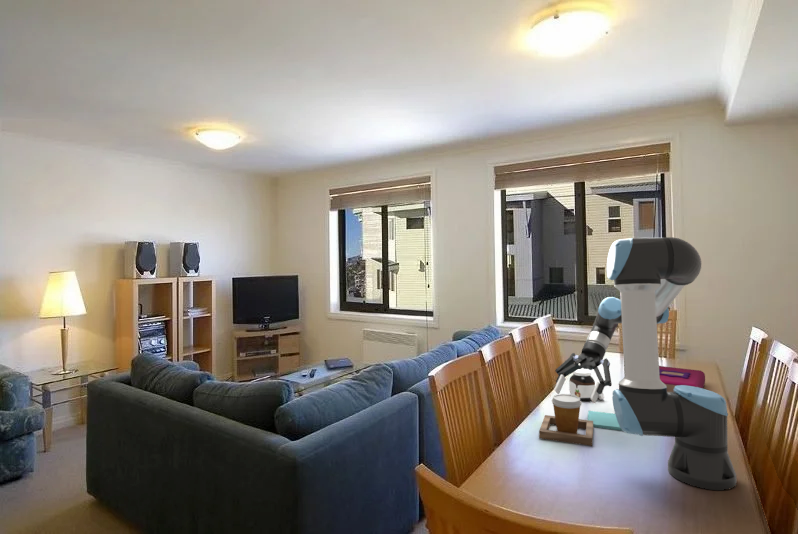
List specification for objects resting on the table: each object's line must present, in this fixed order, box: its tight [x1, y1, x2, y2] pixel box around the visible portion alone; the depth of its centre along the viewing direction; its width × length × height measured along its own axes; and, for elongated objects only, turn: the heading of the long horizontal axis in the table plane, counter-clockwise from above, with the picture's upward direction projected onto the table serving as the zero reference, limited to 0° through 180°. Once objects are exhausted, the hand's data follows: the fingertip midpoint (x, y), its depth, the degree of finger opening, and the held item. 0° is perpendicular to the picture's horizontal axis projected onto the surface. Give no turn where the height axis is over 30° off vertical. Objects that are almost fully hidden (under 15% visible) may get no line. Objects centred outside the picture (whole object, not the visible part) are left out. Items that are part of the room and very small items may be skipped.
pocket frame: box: [538, 414, 594, 447], centre depth 149 cm, size 16×16×2 cm
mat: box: [587, 410, 624, 432], centre depth 158 cm, size 14×14×1 cm
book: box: [659, 365, 706, 392], centre depth 195 cm, size 21×28×8 cm
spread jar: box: [568, 368, 605, 402], centre depth 185 cm, size 12×11×12 cm
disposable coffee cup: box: [551, 393, 583, 434], centre depth 149 cm, size 10×10×12 cm
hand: (573, 396), depth 154 cm, fingers open, 13 cm apart
